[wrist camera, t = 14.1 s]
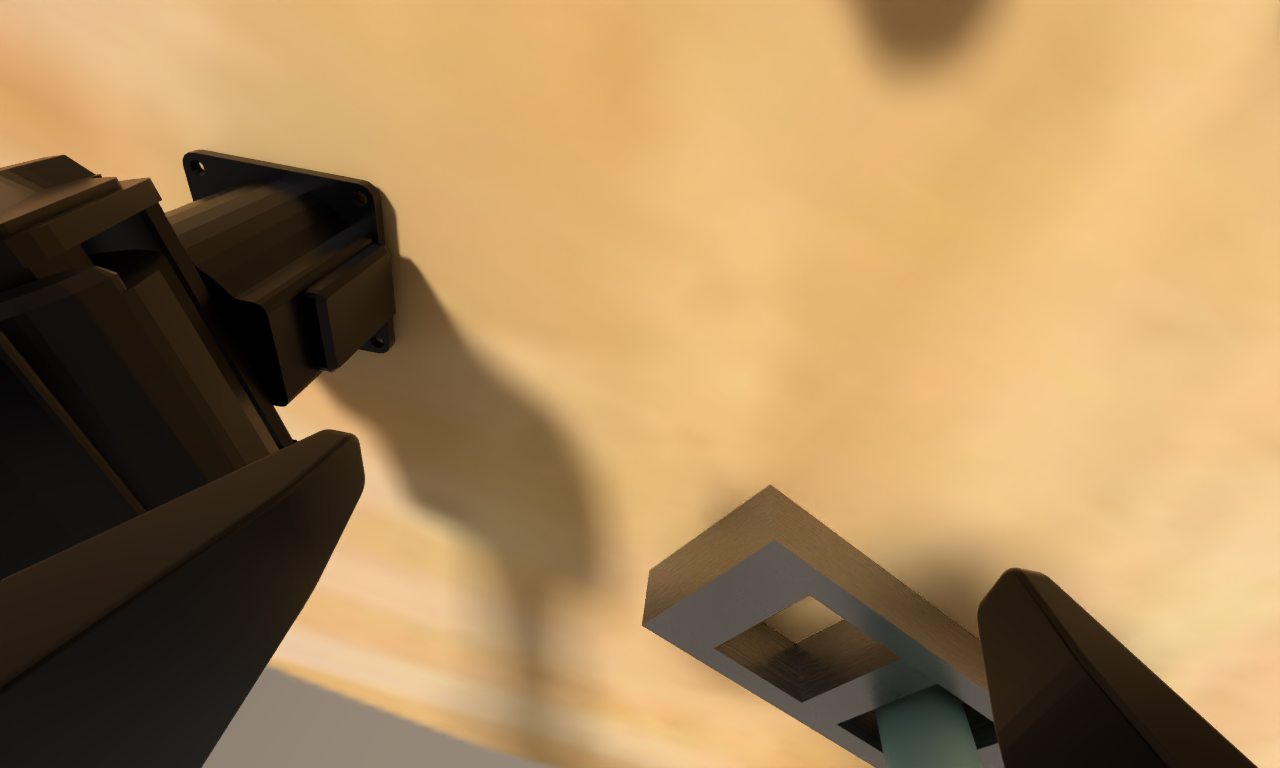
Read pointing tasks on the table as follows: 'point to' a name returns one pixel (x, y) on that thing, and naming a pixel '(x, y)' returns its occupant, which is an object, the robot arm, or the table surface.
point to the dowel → (927, 731)
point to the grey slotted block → (831, 660)
